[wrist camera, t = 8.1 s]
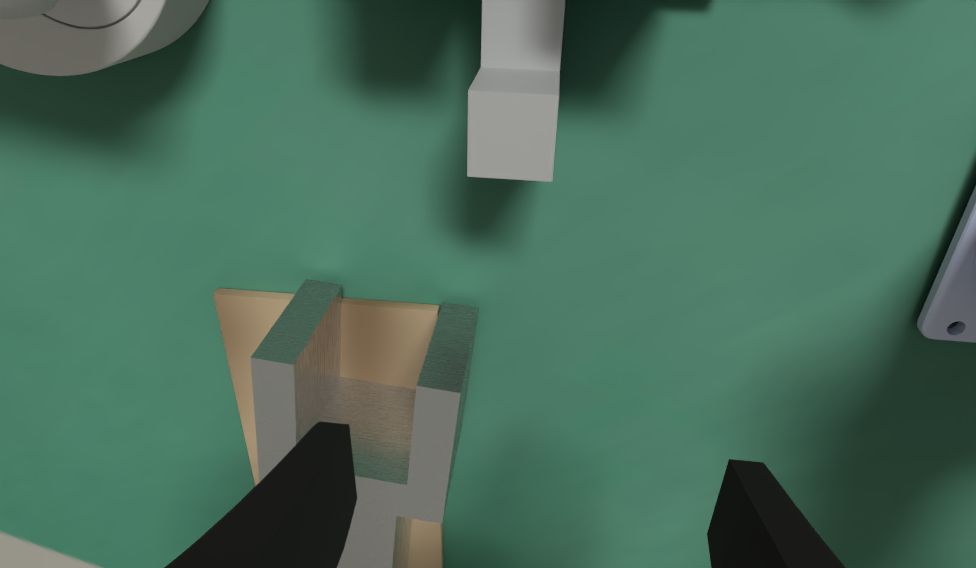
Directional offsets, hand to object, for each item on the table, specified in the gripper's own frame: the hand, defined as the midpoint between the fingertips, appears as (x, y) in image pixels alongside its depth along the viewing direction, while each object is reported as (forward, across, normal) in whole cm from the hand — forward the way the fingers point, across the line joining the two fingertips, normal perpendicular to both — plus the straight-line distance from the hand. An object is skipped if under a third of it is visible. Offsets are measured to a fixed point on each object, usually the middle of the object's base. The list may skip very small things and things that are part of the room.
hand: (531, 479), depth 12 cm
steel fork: (+9, +6, +9) cm, 14 cm away
